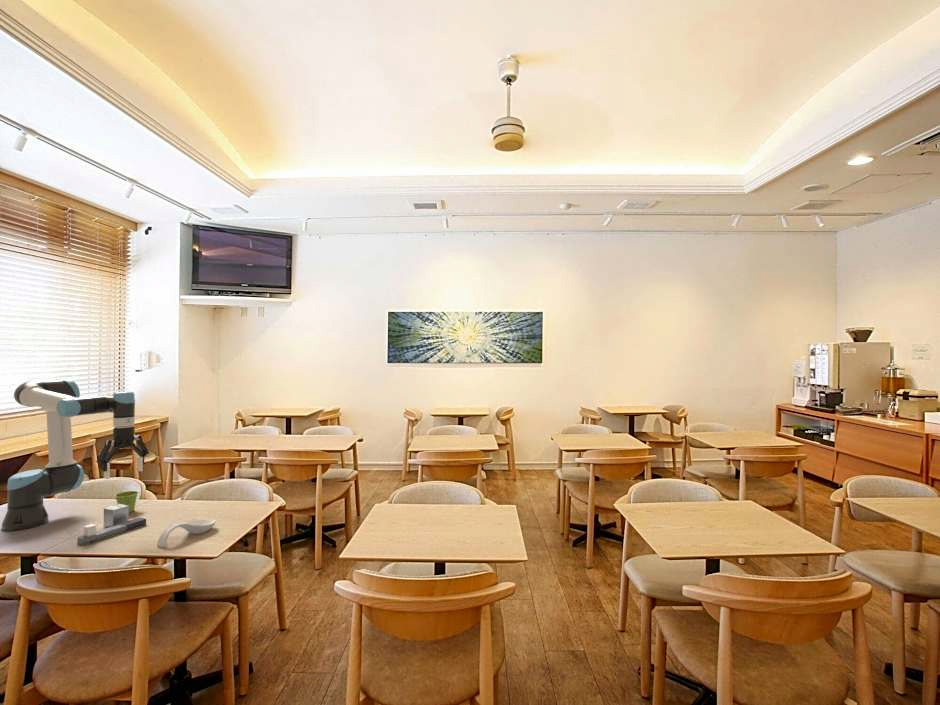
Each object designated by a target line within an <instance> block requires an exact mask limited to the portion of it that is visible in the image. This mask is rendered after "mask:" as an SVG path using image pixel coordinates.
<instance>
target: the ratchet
mask: <svg viewBox="0 0 940 705" xmlns="http://www.w3.org/2000/svg"><path fill="white" fill-rule="evenodd" d="M143 526H147V518H144V517H140V516H139V517H135V518H133V519H129V521H126V522H123V523H120V524H118V525H115V526H112V527H105V528H104V529H103V528H102V529H100V530H97V531H96V528H97V525H96V524H94V523H93V524H92V523H90V524H87V525H85V526H83V535H81V536H78V537H77V544H78V545H82V546H87V545H91V544H94V543H96V542H99V541H103V540H105V539H107V538H111V537H113V536H116V535H119V534H122V533H126V532H129V531H131V530H134V529H138V528H140V527H143Z"/></svg>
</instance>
